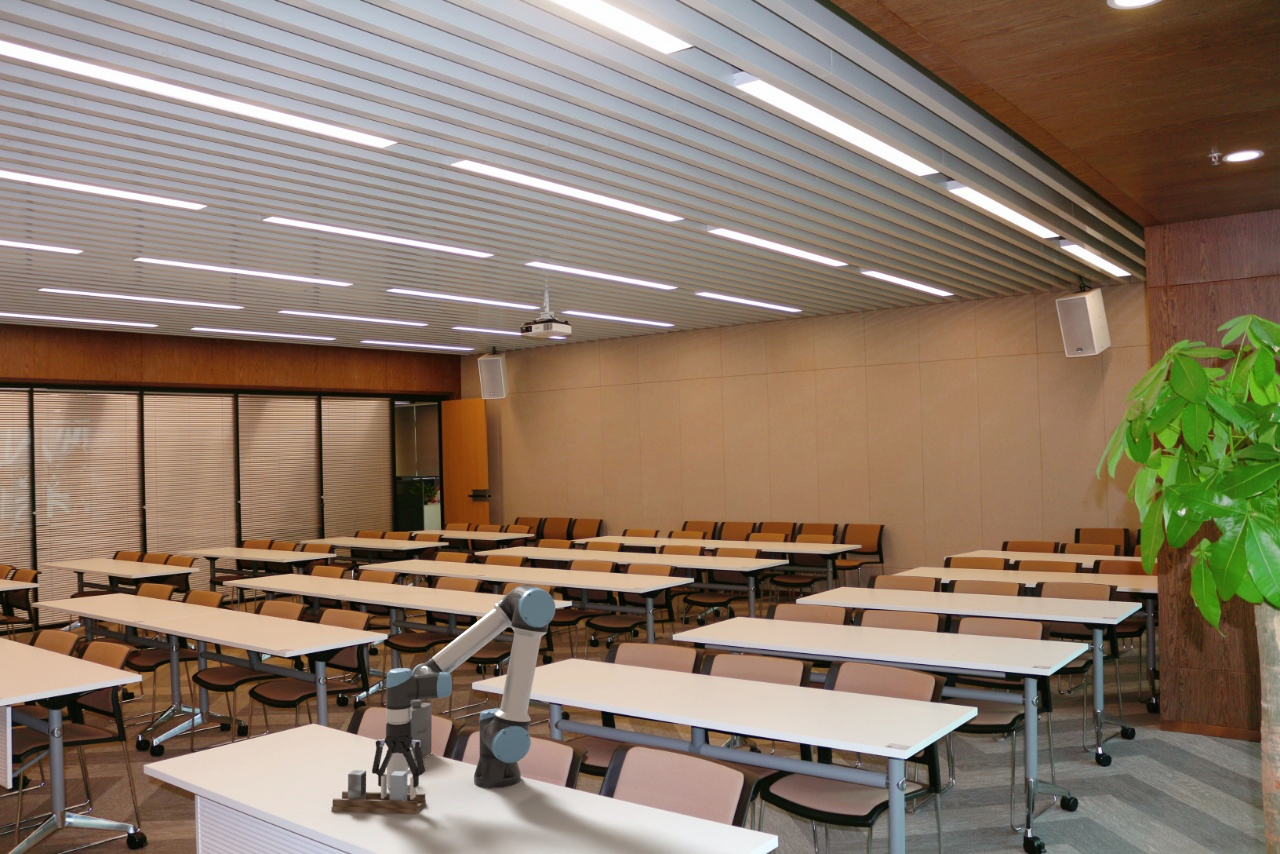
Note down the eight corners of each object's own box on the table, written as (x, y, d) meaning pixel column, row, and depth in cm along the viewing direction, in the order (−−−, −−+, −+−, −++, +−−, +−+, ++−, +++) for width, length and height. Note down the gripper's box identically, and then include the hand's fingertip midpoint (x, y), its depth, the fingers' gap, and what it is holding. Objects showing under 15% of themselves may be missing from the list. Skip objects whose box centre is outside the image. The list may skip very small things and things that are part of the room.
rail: (425, 803, 291) (426, 769, 291) (415, 814, 282) (415, 779, 282) (344, 800, 294) (344, 767, 294) (331, 811, 285) (331, 776, 285)
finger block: (407, 801, 289) (407, 771, 289) (402, 806, 285) (402, 775, 285) (394, 801, 289) (394, 771, 290) (389, 805, 285) (389, 775, 286)
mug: (394, 791, 303) (395, 752, 303) (382, 786, 307) (382, 749, 307) (420, 782, 310) (420, 745, 311) (407, 778, 315) (407, 742, 315)
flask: (407, 764, 331) (408, 705, 332) (395, 761, 334) (395, 703, 335) (436, 752, 344) (436, 696, 345) (423, 750, 347) (423, 695, 348)
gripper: (436, 718, 291) (436, 794, 290) (370, 717, 293) (369, 792, 292) (428, 725, 283) (428, 802, 282) (360, 723, 286) (359, 800, 285)
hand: (398, 797), depth 287 cm, fingers open, 8 cm apart
